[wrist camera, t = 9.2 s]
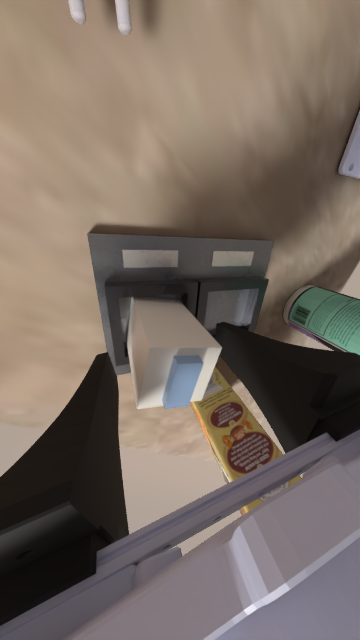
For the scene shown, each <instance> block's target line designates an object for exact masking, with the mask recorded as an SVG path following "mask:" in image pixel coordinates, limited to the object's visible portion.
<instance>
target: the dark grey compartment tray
mask: <svg viewBox="0 0 360 640" xmlns="http://www.w3.org/2000/svg"><path fill="white" fill-rule="evenodd" d="M87 235H88V241H89V247H90V253H91V259H92V265H93V271H94V277H95V283H96V288H97V294H98V300H99V306H100V312H101V318H102V324H103V330H104V336H105V342H106V348H107V352H108V354H109V356H110V359H111V362H112V365H113V367H114V370H115V373H116V375H121V374H126V373H131V367H130V361H129V354H128V348H127V341H126V336H127V329H128V321H129V314H130V307H131V299H132V297H139V296H145V297H153V298H162V299H171V300H179V301H180V302H181V303H182V304H183V305H184V306H185V307H186V308H187V309H188V310H189V312H190V313H191V314H192V315H193V316H194V317H195V318H196V319H197V320H198V321H199V323H200V324H201V325H202V326H203V327H204V328H205V329H206V330H207V331H208V332H209V334H210V335H211V336H212V337H213V338H214V339H215V340H216V324H217V323H221V322H227V323H229V324H232V325H235V326H237V327H240V328H242V329H245V330H247V331H250V332H252V333H254V330H255V326H256V323H257V319H258V316H259V312H260V309H261V305H262V302H263V298H264V295H265V291H266V288H267V284H268V281H269V279H266V278H264V276H265V272H266V269H267V265H268V261H269V258H270V254H271V250H272V247H273V243H274V241H269V240H247V239H223V238H198V237H174V236H150V235H125V234H101V233H88V234H87Z"/></svg>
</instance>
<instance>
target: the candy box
mask: <svg viewBox="0 0 360 640" xmlns="http://www.w3.org/2000/svg"><path fill="white" fill-rule="evenodd" d="M190 403H191V406H192V408H193V411H194V413H195V415H196V417H197V419H198V421H199V424H200V426H201V428H202V430H203V433H204V435H205V437H206V439H207V441H208V444H209V446H210V448H211V450H212V452H213V454H214V456H215V458H216V461H217V463H218V465H219V467H220V469H221V471H222V473H223V476H224V479H225V481H226V482H227V484H228V483H230V482H232V481H234V480H236V479H238V478H240V477H241V476H243V475H245V474H247V473H249V472H251V471H253V470H255V469H257V468H259V467H261V466H263V465H265V464H266V463H268V462H270V461H272V460H274V459H276V458H278V457H280V456H282V455H283V454H282V452H281V451H280V450H279V448H278V447H277V446H276V445H275V443H274V442H273V441H272V440H271V438H270V437H269V435H268V434H267V433H266V432H265V430H264V429H263V428H262V426H261V425H260V424H259V423H258V421H257V420H256V419H255V417H254V416H253V415H252V414H251V412H250V411H249V410H248V408H247V407H246V406H245V404H244V403H243V402H242V400H241V399H240V398H239V397H238V395H237V394H236V393H235V391H234V390H233V389H232V387H231V386H230V385H229V384H228V382H227V381H226V380H225V378H224V377H223V376H222V374H221V373H220V372H219V370H218V369H217V368H216V367H214V370H213V372H212V375H211V378H210V380H209V383H208V385H207V388H206V390H205V393H204V395H203V398H202V400H201V401H194V402H190ZM301 479H302V478H301V477H300V476H297V477H295V478H293V479H292V480H290V481H288V482H286V483H285V484H283V485H281V486H279V487H278V488H276V489H274V490H272V491H271V492H269V493H267V494H265V495H264V496H262V497H260V498H258V499H257V500H255V501H253V502H251V503H250V504H248V505H246V506H244V507H243V508H241V509H239V510H240V512H241V514H242V516H243V515H244V514H246V513H247V512H249V511H250V510H251V509H253V508H254V507H256V506H257V505H259V504H260V503H262V502H264V501H265V500H267V499H268V498H270V497H272V496H274V495H275V494H277V493H279V492H281V491H282V490H284V489H286V488H287V487H289V486H291V485H293V484H294V483H296V482H298V481H300V480H301Z"/></svg>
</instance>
